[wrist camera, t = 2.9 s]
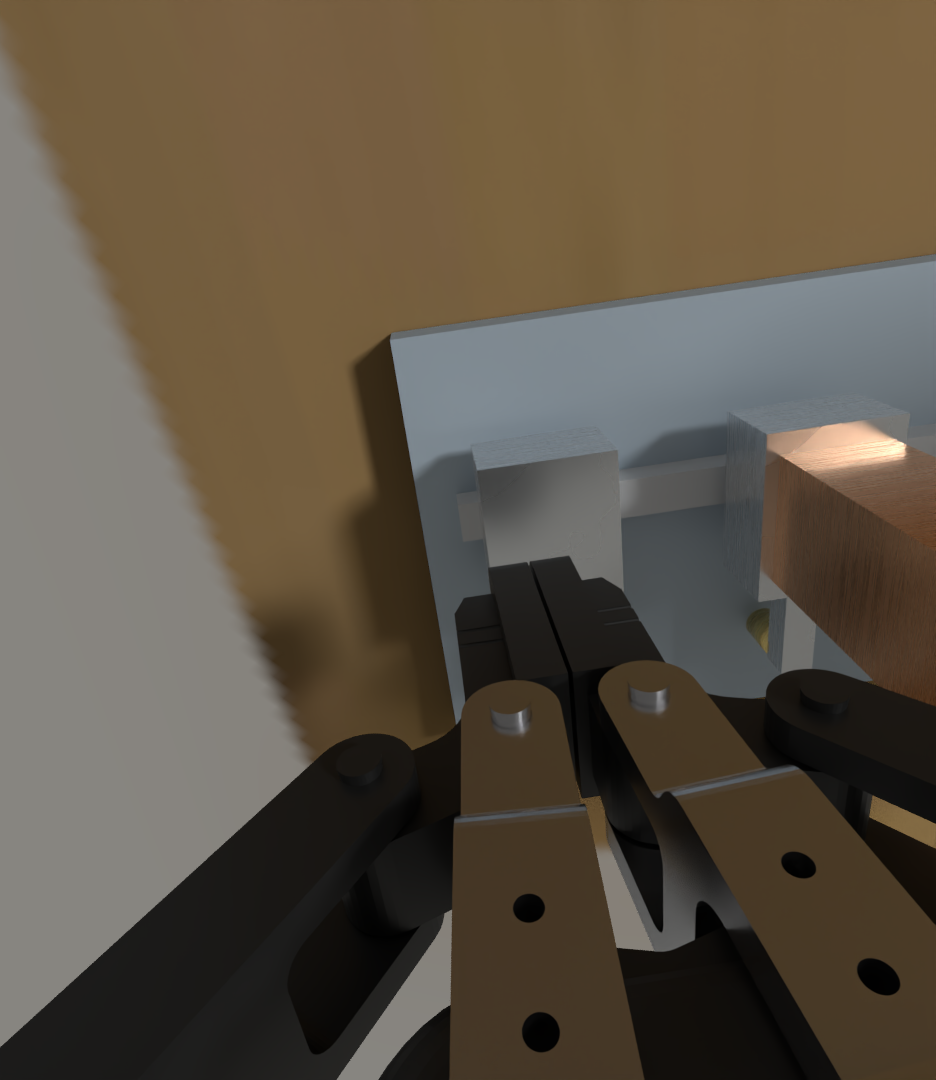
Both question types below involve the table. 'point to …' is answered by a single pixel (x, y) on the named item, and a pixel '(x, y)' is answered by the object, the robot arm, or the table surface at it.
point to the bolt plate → (661, 430)
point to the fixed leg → (551, 500)
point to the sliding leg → (835, 535)
